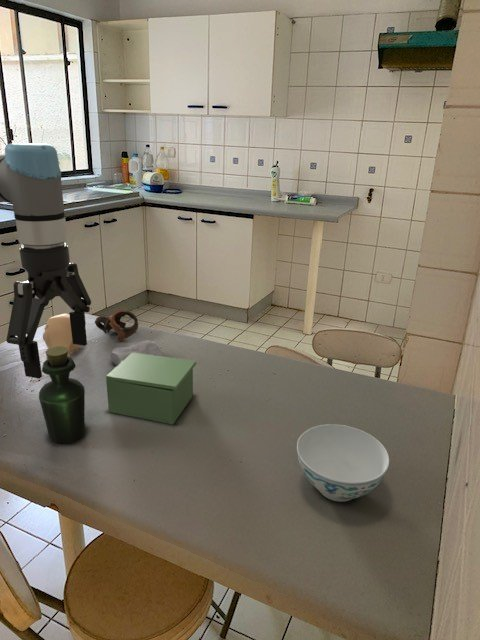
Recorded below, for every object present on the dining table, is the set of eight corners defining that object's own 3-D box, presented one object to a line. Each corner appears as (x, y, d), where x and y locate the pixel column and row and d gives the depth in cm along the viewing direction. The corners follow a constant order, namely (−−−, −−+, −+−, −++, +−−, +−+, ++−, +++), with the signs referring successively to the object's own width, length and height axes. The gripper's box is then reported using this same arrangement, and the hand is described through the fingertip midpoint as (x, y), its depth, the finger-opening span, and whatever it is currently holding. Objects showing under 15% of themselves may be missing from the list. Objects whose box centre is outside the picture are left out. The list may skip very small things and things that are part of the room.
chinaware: (293, 455, 87) (296, 420, 84) (374, 462, 86) (380, 428, 83) (293, 516, 73) (297, 477, 70) (390, 526, 72) (398, 487, 69)
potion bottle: (74, 450, 86) (63, 364, 79) (35, 442, 88) (22, 357, 81) (97, 425, 93) (89, 344, 86) (61, 418, 95) (50, 339, 88)
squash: (86, 336, 133) (88, 309, 129) (82, 378, 116) (85, 348, 112) (45, 333, 129) (47, 305, 125) (35, 375, 113) (37, 344, 109)
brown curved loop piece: (134, 327, 141) (140, 309, 135) (133, 352, 135) (140, 334, 129) (93, 321, 136) (98, 302, 131) (90, 346, 130) (96, 327, 125)
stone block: (168, 371, 119) (152, 349, 125) (169, 356, 116) (153, 335, 123) (123, 384, 113) (109, 360, 120) (123, 368, 110) (109, 345, 117)
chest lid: (196, 364, 102) (196, 360, 101) (176, 390, 91) (175, 386, 91) (132, 355, 105) (132, 352, 105) (106, 379, 95) (105, 376, 95)
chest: (192, 396, 105) (192, 365, 102) (172, 424, 94) (172, 391, 92) (134, 385, 108) (132, 355, 105) (108, 412, 98) (106, 379, 95)
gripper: (68, 228, 88) (79, 330, 96) (-36, 259, 66) (-10, 389, 74) (103, 231, 87) (112, 335, 94) (9, 264, 64) (30, 396, 72)
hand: (58, 359), depth 84 cm, fingers open, 13 cm apart
